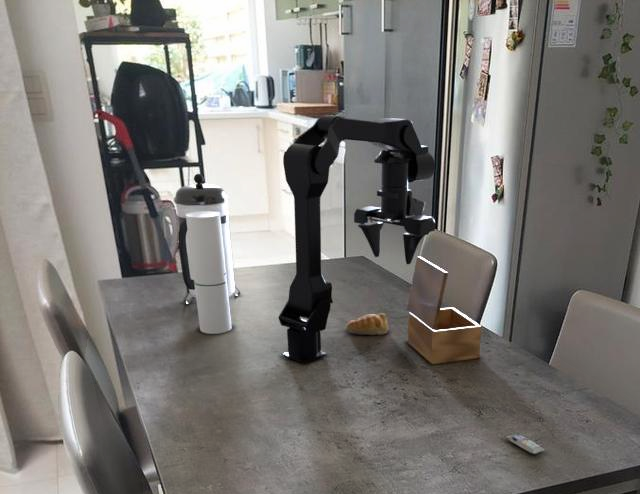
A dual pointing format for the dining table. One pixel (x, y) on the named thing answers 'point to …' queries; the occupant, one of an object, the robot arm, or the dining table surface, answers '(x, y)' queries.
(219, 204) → the coffee press
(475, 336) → the caddy
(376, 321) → the pastry
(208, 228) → the cylindrical container
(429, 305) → the lid
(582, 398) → the dining table surface
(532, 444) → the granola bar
